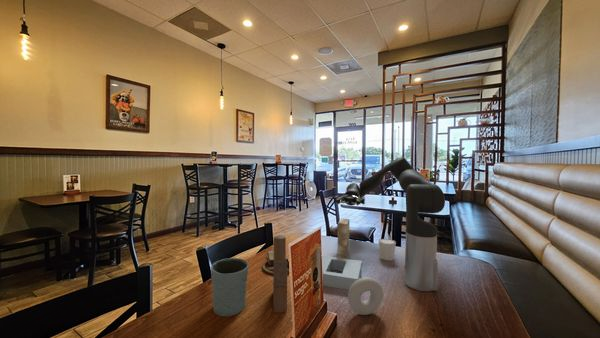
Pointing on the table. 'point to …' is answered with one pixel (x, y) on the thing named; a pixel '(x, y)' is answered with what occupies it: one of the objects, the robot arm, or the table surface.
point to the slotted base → (348, 267)
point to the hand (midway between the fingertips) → (347, 202)
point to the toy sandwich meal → (272, 263)
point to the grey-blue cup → (229, 286)
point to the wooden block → (280, 274)
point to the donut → (372, 301)
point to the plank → (343, 238)
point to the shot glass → (387, 249)
